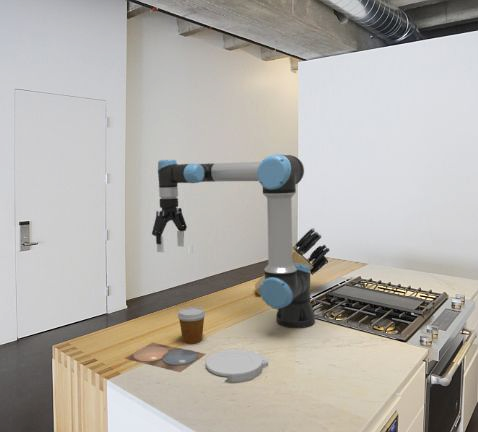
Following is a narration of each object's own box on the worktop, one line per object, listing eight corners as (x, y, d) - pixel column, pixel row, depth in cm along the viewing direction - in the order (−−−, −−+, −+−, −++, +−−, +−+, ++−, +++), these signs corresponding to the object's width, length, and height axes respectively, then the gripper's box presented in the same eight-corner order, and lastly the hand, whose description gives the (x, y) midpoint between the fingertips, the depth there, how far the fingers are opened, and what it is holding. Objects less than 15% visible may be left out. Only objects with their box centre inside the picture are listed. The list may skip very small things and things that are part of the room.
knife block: (330, 295, 206) (330, 230, 203) (255, 297, 207) (253, 232, 203) (326, 288, 217) (325, 226, 214) (254, 290, 218) (253, 228, 214)
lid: (281, 370, 132) (281, 361, 132) (224, 390, 122) (223, 379, 121) (249, 351, 147) (249, 342, 146) (196, 367, 136) (195, 357, 136)
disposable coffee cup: (179, 340, 157) (178, 307, 156) (206, 338, 158) (205, 306, 157) (178, 350, 148) (176, 316, 147) (206, 349, 149) (205, 314, 147)
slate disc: (204, 354, 141) (204, 353, 141) (183, 368, 131) (183, 367, 131) (176, 348, 146) (176, 347, 146) (155, 361, 137) (154, 360, 137)
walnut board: (206, 358, 141) (206, 353, 141) (180, 377, 129) (180, 372, 129) (152, 346, 152) (152, 342, 152) (124, 362, 140) (123, 358, 140)
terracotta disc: (175, 351, 144) (175, 349, 144) (153, 364, 135) (153, 363, 134) (149, 345, 149) (148, 344, 149) (126, 358, 140) (126, 356, 140)
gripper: (179, 195, 192) (181, 243, 194) (141, 200, 170) (143, 253, 173) (193, 195, 188) (195, 244, 191) (156, 200, 167) (158, 255, 169)
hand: (171, 249), depth 182 cm, fingers open, 13 cm apart
